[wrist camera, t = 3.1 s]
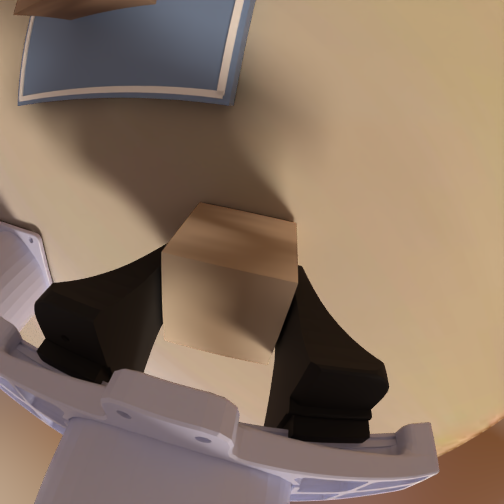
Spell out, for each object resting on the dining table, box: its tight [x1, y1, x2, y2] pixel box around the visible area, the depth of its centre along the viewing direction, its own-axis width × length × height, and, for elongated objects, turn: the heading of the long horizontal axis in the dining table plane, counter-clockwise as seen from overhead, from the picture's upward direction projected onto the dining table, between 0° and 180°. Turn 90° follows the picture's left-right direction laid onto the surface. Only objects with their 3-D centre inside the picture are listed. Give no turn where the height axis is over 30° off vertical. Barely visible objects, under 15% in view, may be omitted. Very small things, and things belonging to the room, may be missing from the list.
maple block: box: [161, 202, 298, 365], centre depth 12 cm, size 5×5×5 cm
